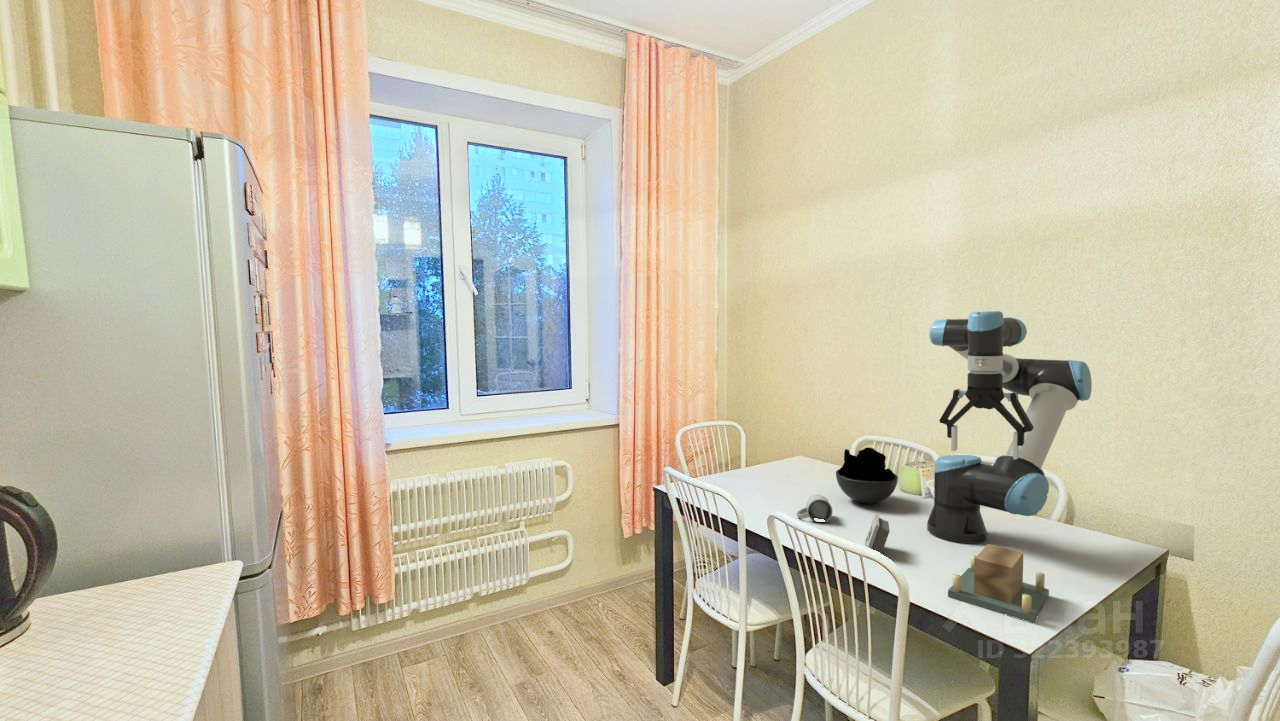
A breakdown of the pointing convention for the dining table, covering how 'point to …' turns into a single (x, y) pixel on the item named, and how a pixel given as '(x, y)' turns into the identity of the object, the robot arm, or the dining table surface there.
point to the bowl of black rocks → (866, 477)
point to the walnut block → (998, 573)
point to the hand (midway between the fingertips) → (984, 454)
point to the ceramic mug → (816, 509)
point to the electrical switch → (877, 534)
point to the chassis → (1021, 607)
